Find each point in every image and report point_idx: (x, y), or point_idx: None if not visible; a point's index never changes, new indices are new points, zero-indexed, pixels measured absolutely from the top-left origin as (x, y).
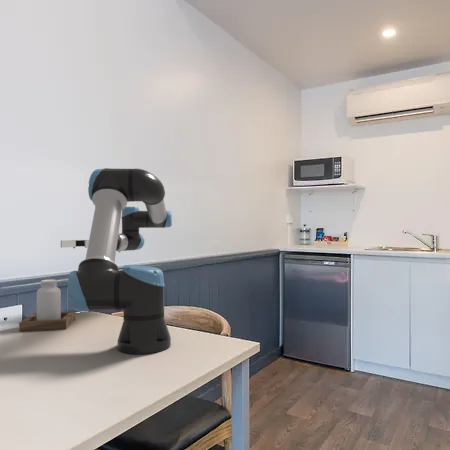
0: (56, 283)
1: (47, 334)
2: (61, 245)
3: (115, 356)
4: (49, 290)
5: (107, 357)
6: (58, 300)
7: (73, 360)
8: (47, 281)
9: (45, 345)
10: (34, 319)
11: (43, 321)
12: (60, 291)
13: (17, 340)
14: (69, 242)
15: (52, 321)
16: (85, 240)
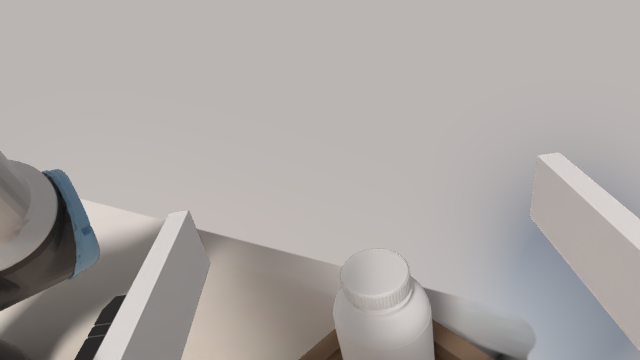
0: (350, 299)
1: (288, 335)
2: (537, 198)
3: (25, 335)
4: (341, 287)
5: (41, 324)
6: (340, 348)
7: (102, 286)
8: (350, 258)
9: (215, 294)
10: (444, 355)
11: (334, 330)
12: (346, 339)
13: (306, 277)
14: (594, 237)
15: (313, 348)
16: (178, 212)
